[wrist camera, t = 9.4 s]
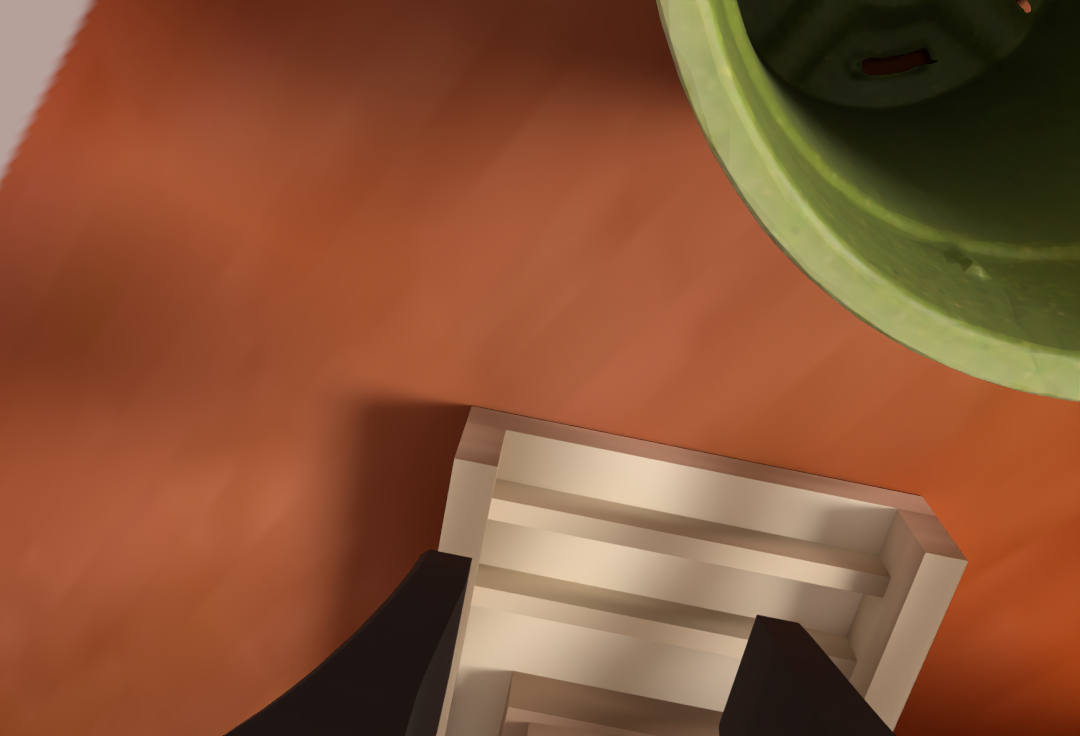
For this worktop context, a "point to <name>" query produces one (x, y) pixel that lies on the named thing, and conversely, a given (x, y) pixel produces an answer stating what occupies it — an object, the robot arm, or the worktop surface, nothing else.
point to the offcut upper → (561, 731)
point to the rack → (674, 569)
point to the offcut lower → (599, 710)
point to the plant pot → (909, 164)
